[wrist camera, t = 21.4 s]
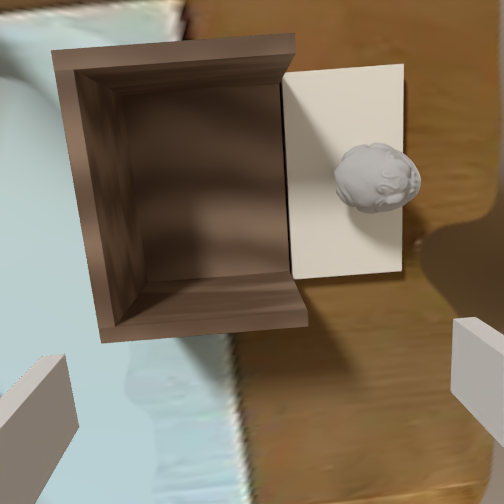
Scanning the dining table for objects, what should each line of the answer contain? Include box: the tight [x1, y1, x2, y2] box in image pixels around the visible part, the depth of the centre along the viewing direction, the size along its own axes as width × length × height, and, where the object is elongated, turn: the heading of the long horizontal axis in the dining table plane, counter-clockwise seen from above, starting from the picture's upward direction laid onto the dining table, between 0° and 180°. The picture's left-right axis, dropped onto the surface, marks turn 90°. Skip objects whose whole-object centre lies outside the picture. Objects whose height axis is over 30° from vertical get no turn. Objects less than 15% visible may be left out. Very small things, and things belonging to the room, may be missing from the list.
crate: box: [51, 33, 308, 343], centre depth 34 cm, size 20×15×12 cm
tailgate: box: [281, 64, 404, 279], centre depth 39 cm, size 19×2×11 cm
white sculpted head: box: [334, 143, 421, 214], centre depth 35 cm, size 6×7×7 cm
